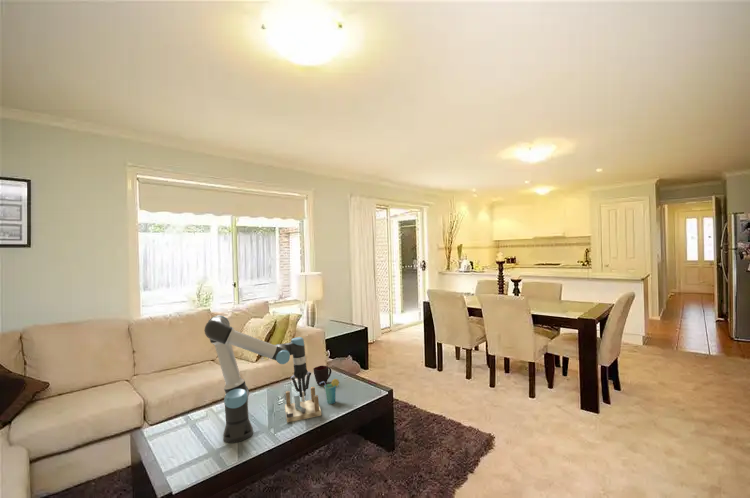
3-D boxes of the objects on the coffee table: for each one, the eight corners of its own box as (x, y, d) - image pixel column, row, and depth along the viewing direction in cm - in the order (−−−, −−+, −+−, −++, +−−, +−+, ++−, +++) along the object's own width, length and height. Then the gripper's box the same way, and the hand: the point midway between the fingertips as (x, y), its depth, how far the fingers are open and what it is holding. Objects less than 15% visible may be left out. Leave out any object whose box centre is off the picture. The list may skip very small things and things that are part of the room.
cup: (323, 408, 223) (322, 383, 223) (317, 404, 229) (315, 380, 229) (342, 400, 232) (340, 377, 232) (336, 397, 238) (334, 375, 238)
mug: (312, 384, 265) (311, 368, 265) (327, 379, 275) (326, 363, 275) (320, 387, 258) (319, 371, 258) (335, 381, 268) (334, 365, 268)
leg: (306, 412, 212) (305, 398, 212) (302, 413, 210) (301, 399, 211) (298, 407, 220) (297, 394, 220) (295, 408, 218) (294, 395, 219)
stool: (286, 422, 207) (285, 403, 207) (285, 408, 226) (283, 391, 226) (321, 415, 213) (320, 396, 213) (316, 402, 232) (315, 385, 232)
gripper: (291, 367, 213) (295, 406, 213) (311, 362, 220) (315, 400, 220) (287, 364, 220) (291, 402, 220) (307, 359, 226) (310, 396, 226)
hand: (303, 401), depth 220 cm, fingers closed
